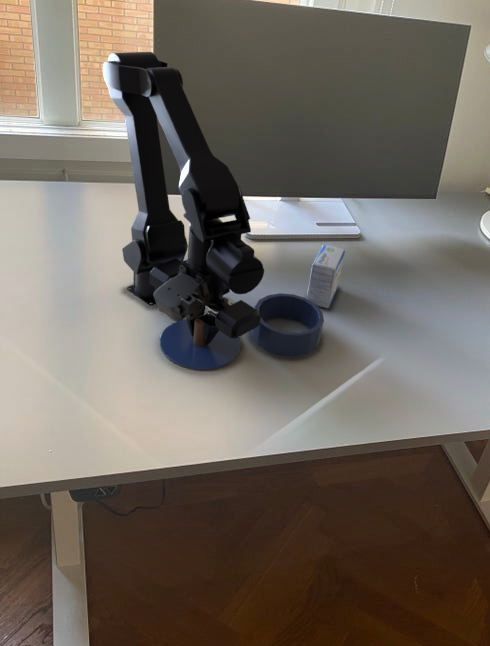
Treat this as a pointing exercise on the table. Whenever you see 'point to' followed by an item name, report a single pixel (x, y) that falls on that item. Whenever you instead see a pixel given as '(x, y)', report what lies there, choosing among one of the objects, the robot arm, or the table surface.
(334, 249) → the medicine box
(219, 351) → the cover
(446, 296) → the table surface
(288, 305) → the dark blue round container
